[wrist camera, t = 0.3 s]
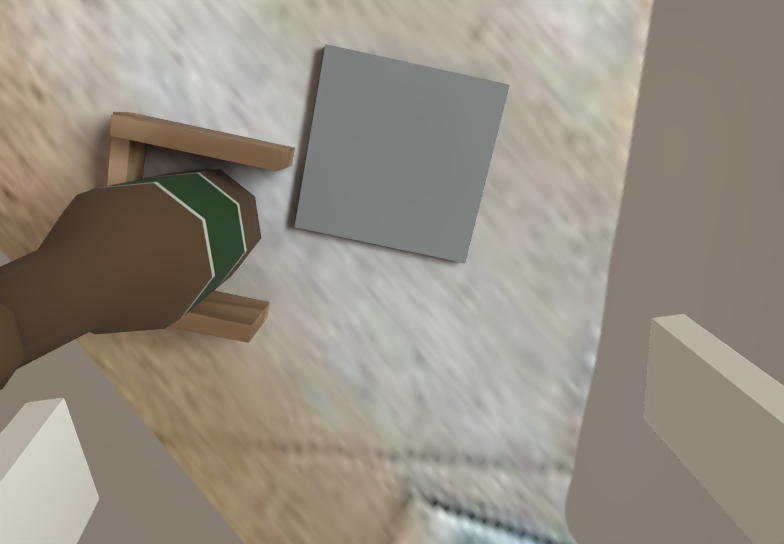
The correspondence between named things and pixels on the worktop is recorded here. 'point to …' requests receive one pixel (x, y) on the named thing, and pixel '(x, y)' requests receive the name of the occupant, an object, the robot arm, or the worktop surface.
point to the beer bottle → (125, 262)
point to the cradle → (135, 130)
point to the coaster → (398, 153)
